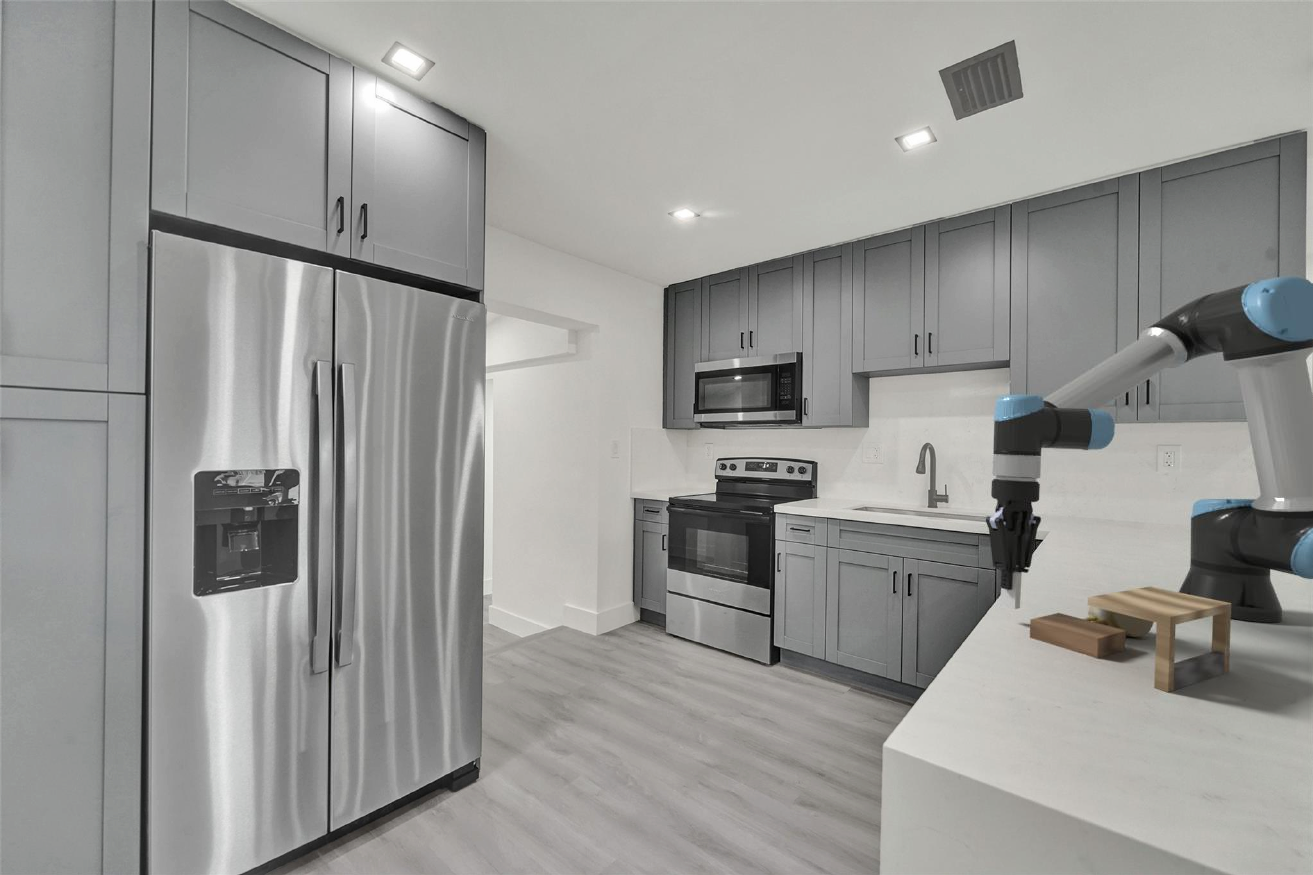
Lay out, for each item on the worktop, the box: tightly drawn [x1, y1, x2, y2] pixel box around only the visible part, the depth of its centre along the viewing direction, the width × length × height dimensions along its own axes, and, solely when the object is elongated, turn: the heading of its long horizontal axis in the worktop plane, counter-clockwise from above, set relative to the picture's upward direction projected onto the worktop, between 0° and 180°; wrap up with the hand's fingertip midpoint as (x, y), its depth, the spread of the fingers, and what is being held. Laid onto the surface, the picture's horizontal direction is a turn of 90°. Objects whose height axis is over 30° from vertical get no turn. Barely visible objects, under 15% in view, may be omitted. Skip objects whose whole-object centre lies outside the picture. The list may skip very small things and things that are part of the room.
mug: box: [1083, 605, 1155, 638], centre depth 103 cm, size 8×10×10 cm
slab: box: [1029, 612, 1127, 659], centre depth 96 cm, size 9×10×4 cm
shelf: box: [1087, 586, 1232, 693], centre depth 86 cm, size 18×10×10 cm, turn 116°
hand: (1010, 606), depth 106 cm, fingers closed
